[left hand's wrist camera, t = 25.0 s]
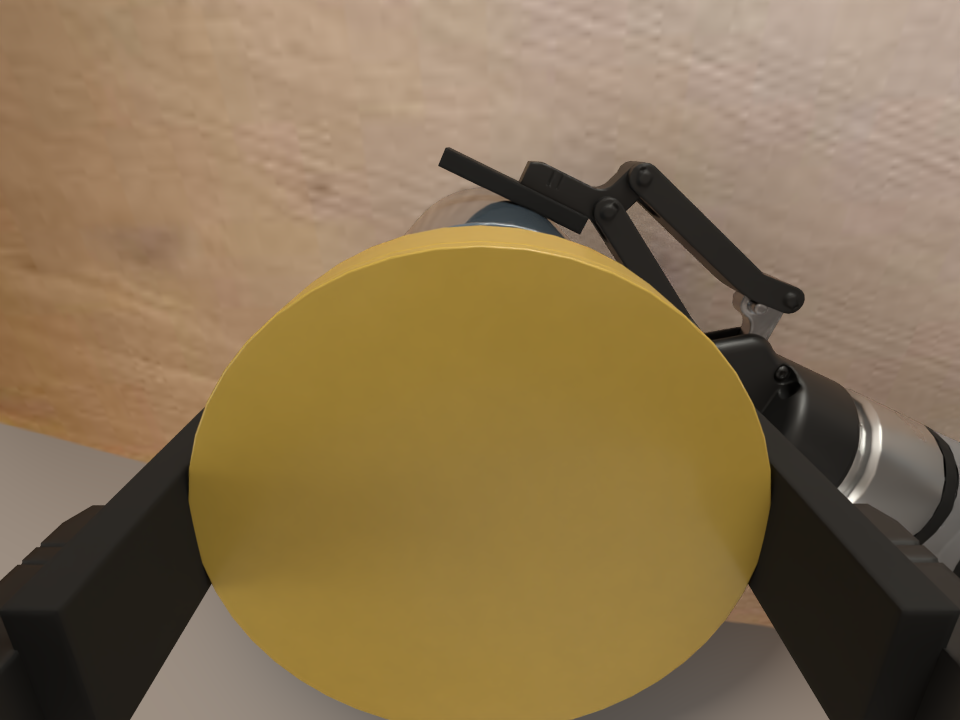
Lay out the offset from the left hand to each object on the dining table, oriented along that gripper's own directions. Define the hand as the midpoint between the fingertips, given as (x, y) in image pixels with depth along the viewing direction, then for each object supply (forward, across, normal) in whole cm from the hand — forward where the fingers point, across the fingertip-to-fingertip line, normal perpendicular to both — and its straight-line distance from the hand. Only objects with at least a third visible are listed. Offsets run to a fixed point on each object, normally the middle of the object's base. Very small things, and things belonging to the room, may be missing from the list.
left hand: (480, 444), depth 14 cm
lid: (-3, 0, 0) cm, 3 cm away
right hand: (+14, +4, -1) cm, 14 cm away
